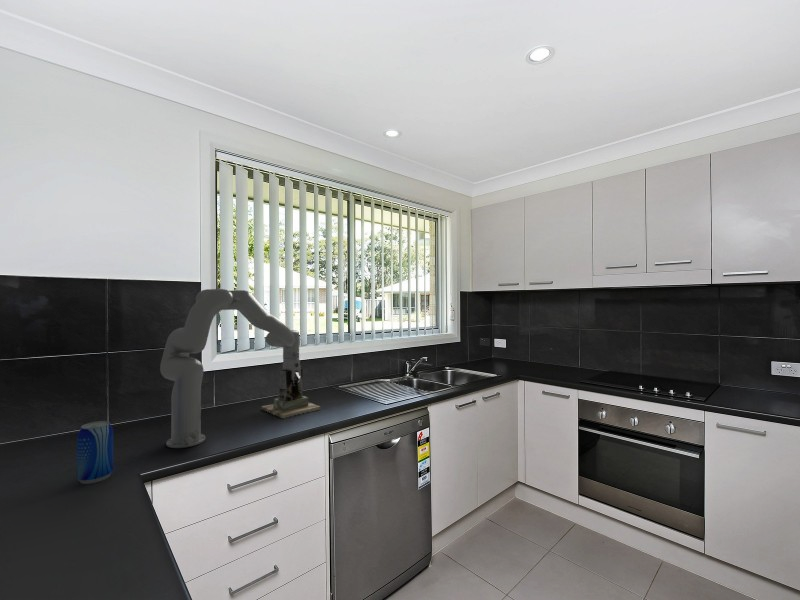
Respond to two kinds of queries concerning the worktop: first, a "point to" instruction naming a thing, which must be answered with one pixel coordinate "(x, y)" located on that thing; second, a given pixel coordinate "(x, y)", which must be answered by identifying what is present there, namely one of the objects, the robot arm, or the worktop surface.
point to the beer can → (94, 452)
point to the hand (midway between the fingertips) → (290, 392)
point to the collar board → (290, 407)
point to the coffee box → (288, 387)
